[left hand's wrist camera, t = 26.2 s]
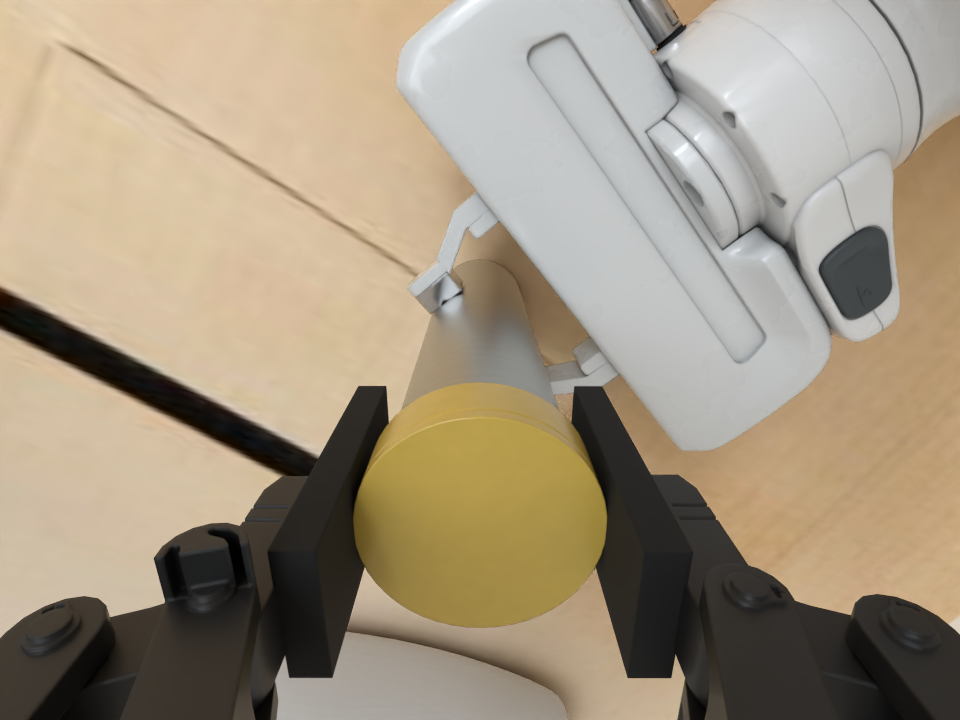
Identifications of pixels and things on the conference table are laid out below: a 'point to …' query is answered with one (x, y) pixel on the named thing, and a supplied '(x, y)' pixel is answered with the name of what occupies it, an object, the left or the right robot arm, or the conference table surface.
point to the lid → (480, 507)
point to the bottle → (481, 338)
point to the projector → (412, 687)
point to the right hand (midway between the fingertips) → (464, 350)
